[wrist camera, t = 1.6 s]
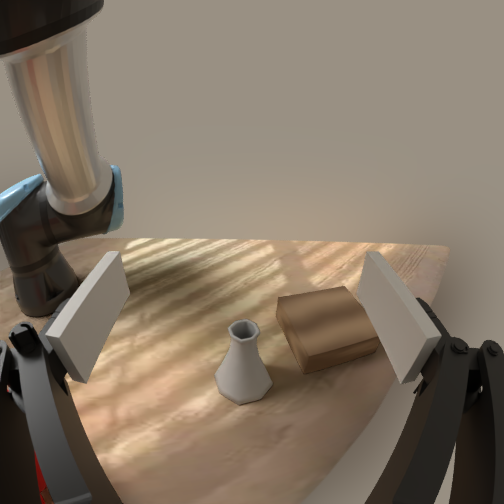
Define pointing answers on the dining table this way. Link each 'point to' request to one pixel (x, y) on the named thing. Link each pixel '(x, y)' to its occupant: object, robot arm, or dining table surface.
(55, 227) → the robot arm
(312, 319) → the plinth
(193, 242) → the dining table surface
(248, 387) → the flask
